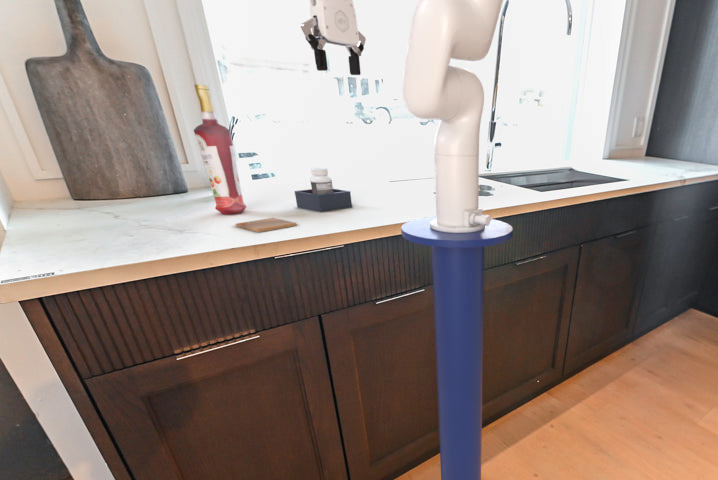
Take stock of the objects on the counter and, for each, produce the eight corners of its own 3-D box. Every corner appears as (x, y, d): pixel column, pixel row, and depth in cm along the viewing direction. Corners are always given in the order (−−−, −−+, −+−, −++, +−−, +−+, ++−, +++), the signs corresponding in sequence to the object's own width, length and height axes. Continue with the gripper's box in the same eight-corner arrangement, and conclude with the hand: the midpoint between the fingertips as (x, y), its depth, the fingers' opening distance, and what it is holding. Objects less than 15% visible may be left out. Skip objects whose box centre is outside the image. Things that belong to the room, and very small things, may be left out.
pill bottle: (313, 204, 119) (307, 167, 115) (334, 204, 121) (328, 167, 117) (315, 208, 115) (309, 169, 110) (336, 207, 117) (331, 169, 112)
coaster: (296, 225, 97) (296, 222, 97) (258, 232, 90) (258, 229, 90) (273, 220, 101) (273, 217, 101) (235, 226, 94) (235, 223, 94)
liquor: (254, 212, 109) (226, 86, 96) (224, 216, 103) (191, 83, 91) (239, 209, 112) (210, 86, 100) (209, 212, 107) (175, 84, 94)
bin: (352, 207, 119) (350, 191, 118) (321, 212, 112) (318, 195, 110) (328, 202, 124) (326, 187, 122) (297, 207, 117) (294, 191, 115)
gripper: (305, -29, 87) (318, 68, 95) (370, -8, 101) (377, 76, 108) (284, -25, 91) (298, 68, 99) (349, -5, 104) (357, 76, 112)
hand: (339, 72), depth 104 cm, fingers open, 9 cm apart
